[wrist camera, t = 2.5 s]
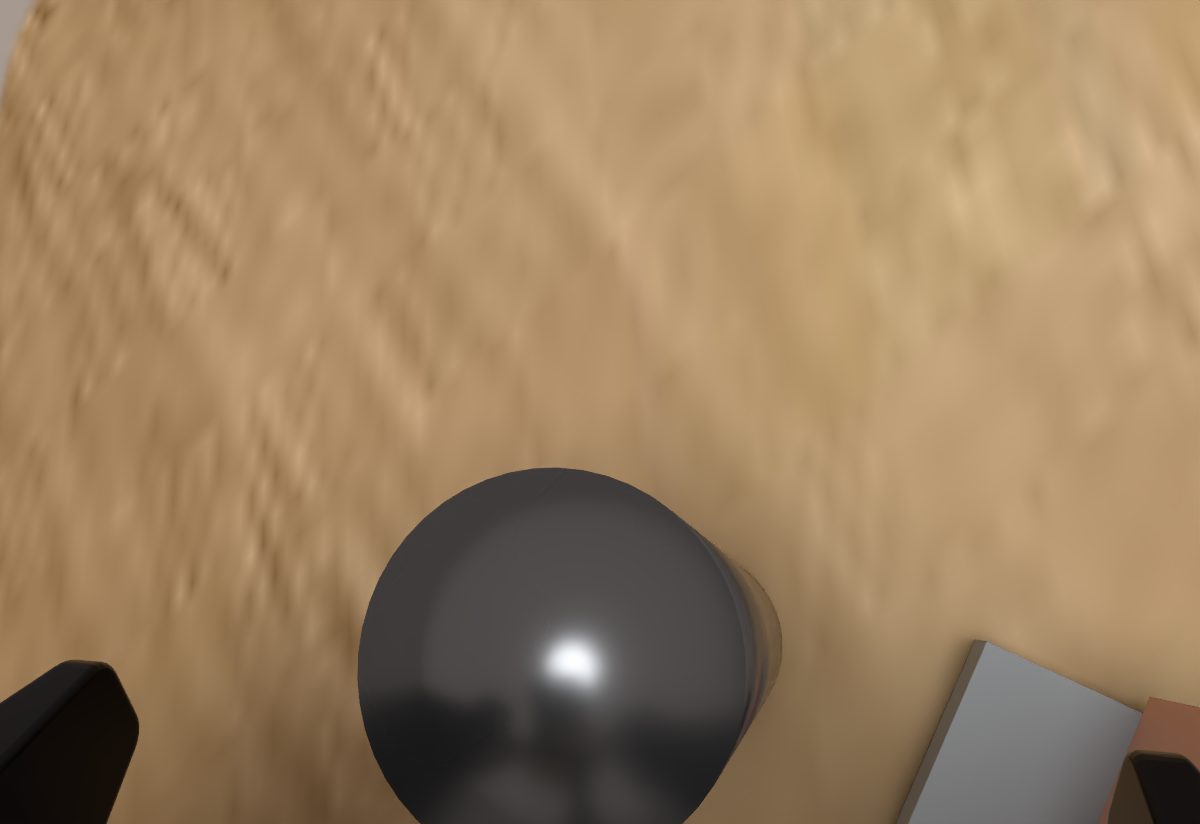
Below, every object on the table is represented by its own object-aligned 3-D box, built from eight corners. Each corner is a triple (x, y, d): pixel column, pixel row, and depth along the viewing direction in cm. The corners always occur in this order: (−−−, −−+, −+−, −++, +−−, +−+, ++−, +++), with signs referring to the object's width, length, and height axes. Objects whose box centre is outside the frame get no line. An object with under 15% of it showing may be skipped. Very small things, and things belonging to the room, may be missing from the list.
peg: (734, 771, 17) (638, 957, 8) (568, 685, 18) (292, 755, 8) (812, 599, 18) (813, 569, 8) (646, 520, 18) (462, 406, 9)
